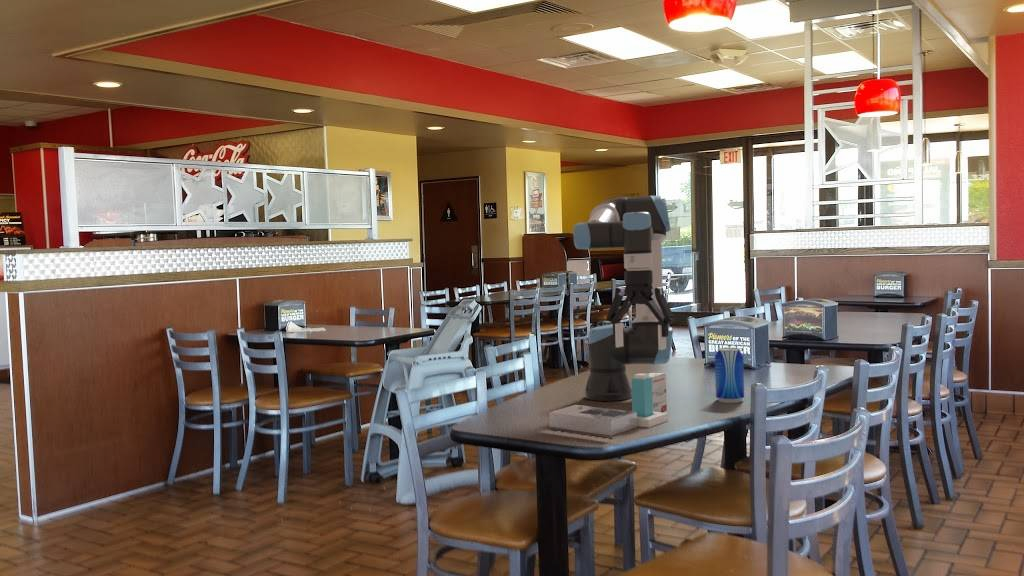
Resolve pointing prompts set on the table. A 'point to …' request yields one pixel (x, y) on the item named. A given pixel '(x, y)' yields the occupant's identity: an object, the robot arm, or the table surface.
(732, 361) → the beer can
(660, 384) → the ink box
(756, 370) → the table surface
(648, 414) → the plug
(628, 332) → the robot arm
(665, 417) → the holster
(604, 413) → the port panel
